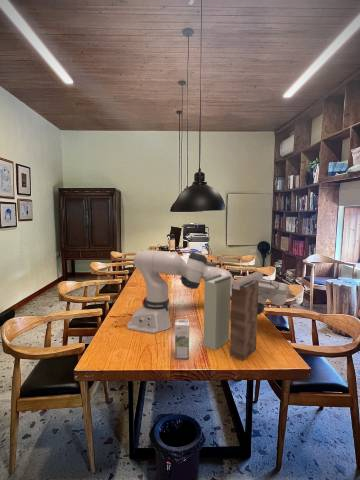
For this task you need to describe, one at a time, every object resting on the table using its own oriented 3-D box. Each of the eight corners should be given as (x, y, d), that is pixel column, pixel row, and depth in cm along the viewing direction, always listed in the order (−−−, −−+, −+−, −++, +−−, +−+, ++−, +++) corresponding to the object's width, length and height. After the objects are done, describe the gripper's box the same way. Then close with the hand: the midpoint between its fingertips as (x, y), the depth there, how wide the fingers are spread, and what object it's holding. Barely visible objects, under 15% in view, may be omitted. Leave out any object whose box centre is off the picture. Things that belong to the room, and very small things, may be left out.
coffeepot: (202, 280, 235) (202, 260, 233) (204, 278, 244) (205, 258, 242) (219, 282, 230) (220, 261, 228) (222, 280, 239) (222, 259, 237)
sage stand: (217, 336, 131) (219, 274, 128) (229, 340, 127) (230, 276, 124) (203, 345, 122) (204, 279, 119) (215, 350, 118) (216, 281, 115)
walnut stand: (243, 345, 123) (245, 278, 120) (255, 349, 119) (258, 281, 116) (229, 355, 113) (231, 284, 110) (243, 360, 110) (245, 287, 106)
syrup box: (188, 351, 116) (188, 318, 115) (189, 359, 110) (189, 324, 109) (174, 352, 116) (174, 318, 115) (174, 359, 110) (175, 324, 109)
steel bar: (256, 278, 125) (256, 271, 124) (262, 279, 123) (263, 272, 123) (232, 288, 108) (232, 280, 108) (239, 289, 106) (239, 282, 106)
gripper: (291, 300, 126) (282, 291, 116) (249, 292, 139) (238, 283, 129) (294, 287, 128) (286, 277, 118) (252, 280, 141) (242, 270, 131)
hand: (261, 280), depth 124 cm, fingers open, 8 cm apart
